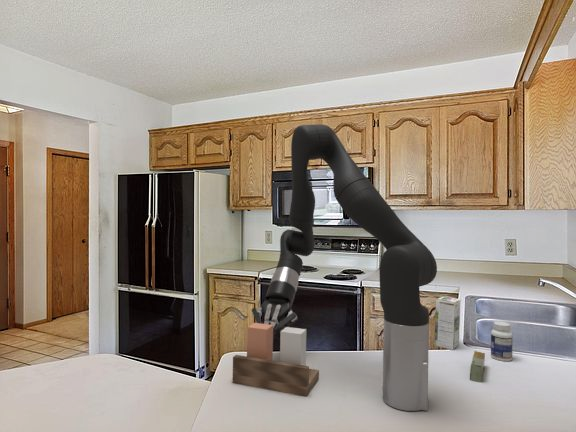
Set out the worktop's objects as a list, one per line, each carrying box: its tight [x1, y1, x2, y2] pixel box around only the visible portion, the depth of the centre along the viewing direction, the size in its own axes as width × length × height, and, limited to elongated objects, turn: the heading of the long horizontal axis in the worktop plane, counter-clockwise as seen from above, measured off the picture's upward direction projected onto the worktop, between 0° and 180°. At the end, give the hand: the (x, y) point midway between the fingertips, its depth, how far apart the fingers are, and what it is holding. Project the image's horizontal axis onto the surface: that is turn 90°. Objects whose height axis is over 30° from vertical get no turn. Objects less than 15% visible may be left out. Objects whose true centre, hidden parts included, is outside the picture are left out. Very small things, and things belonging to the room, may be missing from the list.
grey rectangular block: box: [279, 326, 307, 366], centre depth 90 cm, size 5×4×10 cm
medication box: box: [469, 350, 486, 383], centre depth 98 cm, size 12×3×4 cm, turn 151°
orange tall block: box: [246, 322, 274, 361], centre depth 94 cm, size 5×4×10 cm
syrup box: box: [433, 296, 461, 351], centre depth 119 cm, size 6×6×14 cm
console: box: [231, 354, 320, 397], centre depth 92 cm, size 18×10×6 cm, turn 70°
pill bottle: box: [490, 321, 514, 362], centre depth 109 cm, size 5×5×10 cm
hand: (264, 345), depth 96 cm, fingers closed
